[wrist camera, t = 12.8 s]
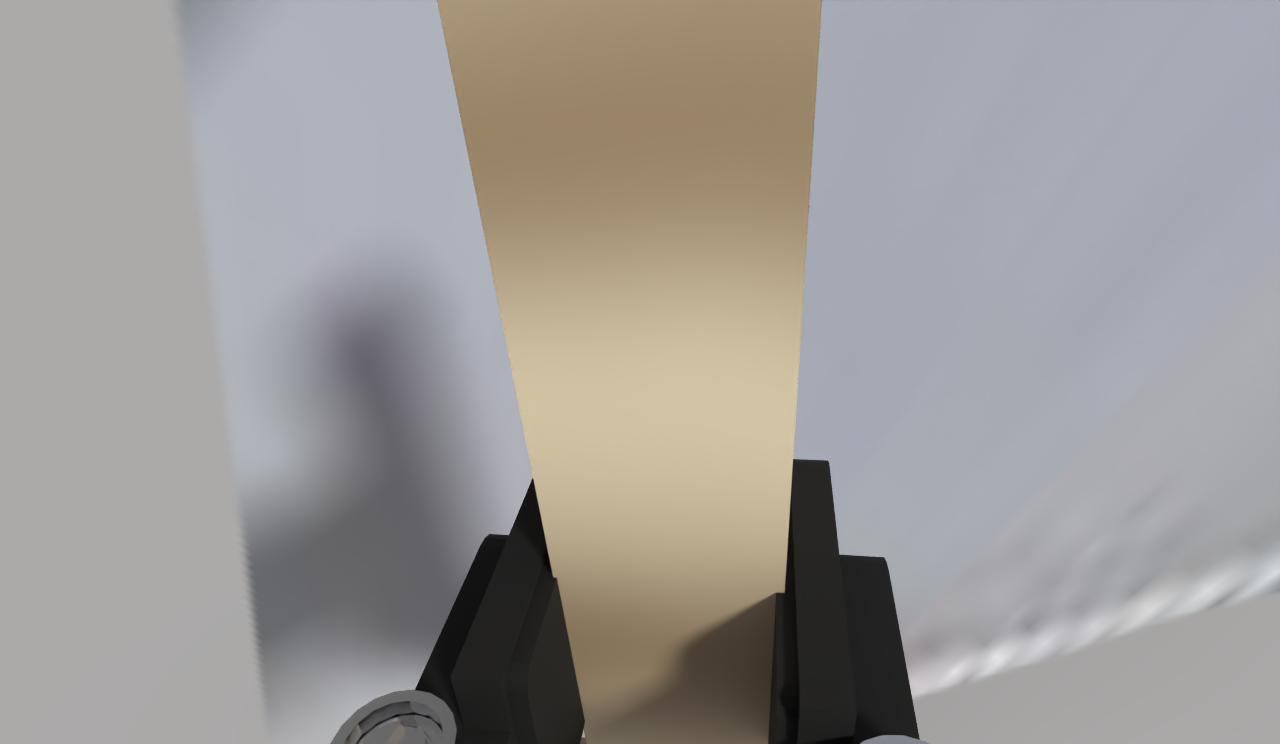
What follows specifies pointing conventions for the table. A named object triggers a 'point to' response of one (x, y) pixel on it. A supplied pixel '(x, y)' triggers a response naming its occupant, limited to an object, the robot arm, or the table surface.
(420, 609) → the table surface
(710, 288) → the curved plank on base
